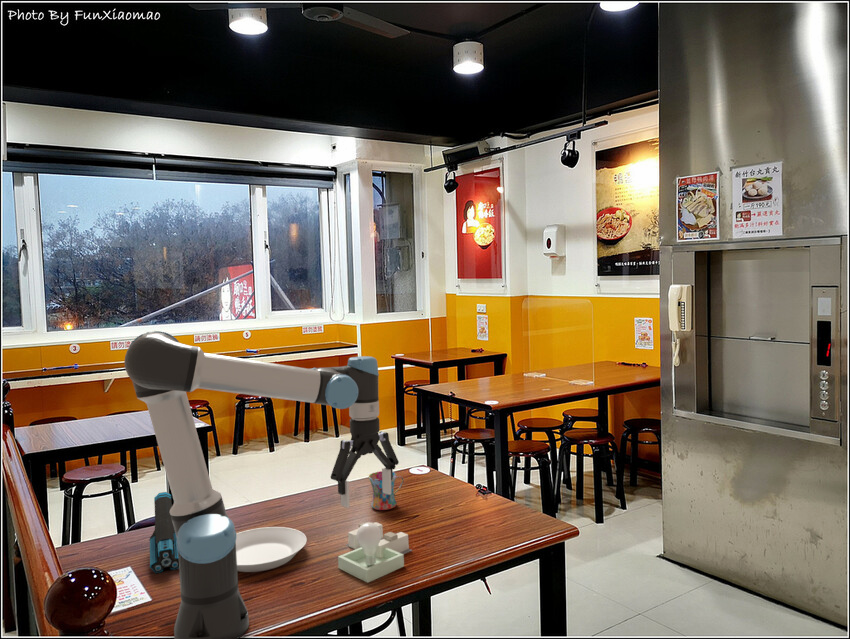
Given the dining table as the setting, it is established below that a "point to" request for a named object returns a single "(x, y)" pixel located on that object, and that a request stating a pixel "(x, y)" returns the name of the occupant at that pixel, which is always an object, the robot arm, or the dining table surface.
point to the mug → (379, 498)
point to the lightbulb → (369, 541)
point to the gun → (163, 536)
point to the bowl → (267, 547)
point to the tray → (357, 567)
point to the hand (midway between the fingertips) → (366, 499)
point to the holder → (383, 541)
